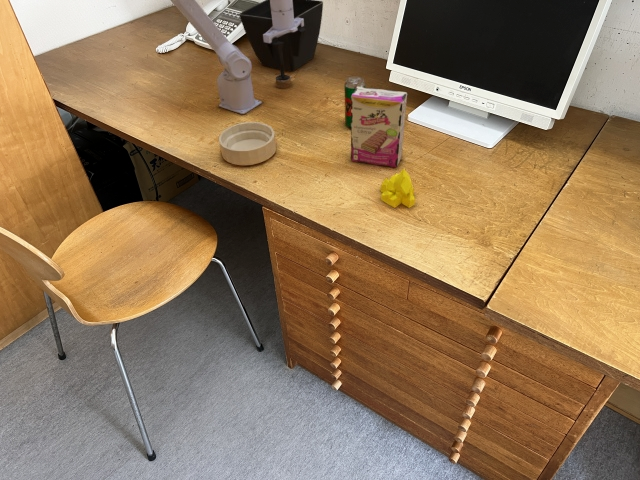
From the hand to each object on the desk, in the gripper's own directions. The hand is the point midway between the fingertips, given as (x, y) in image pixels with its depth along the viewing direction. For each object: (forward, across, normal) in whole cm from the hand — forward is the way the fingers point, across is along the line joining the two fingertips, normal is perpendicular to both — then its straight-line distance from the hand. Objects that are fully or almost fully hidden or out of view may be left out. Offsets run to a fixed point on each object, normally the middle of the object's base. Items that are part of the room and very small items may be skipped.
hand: (287, 60), depth 131 cm
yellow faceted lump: (+10, -26, -50) cm, 58 cm away
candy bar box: (+10, -16, -39) cm, 44 cm away
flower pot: (+10, +17, +15) cm, 25 cm away
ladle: (+10, +3, +5) cm, 11 cm away
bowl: (+10, -30, -11) cm, 33 cm away
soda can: (+10, -6, -26) cm, 28 cm away
